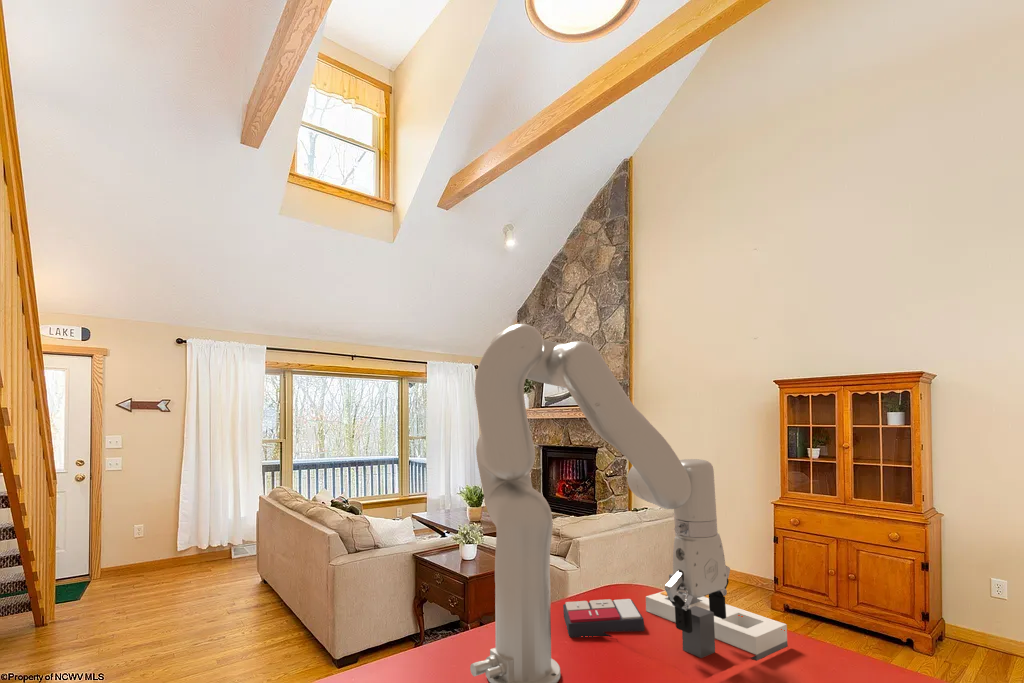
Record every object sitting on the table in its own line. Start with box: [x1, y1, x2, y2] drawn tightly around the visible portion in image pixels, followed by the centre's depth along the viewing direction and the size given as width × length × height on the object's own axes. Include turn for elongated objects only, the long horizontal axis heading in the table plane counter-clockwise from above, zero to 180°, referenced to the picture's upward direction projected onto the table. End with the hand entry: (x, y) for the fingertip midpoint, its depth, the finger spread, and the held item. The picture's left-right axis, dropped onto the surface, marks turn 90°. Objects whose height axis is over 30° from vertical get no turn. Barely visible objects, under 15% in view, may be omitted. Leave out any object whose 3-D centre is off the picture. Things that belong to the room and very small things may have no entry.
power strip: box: [645, 590, 788, 661], centre depth 118 cm, size 10×26×4 cm, turn 35°
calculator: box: [562, 598, 645, 638], centre depth 121 cm, size 11×4×15 cm
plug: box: [681, 606, 716, 659], centre depth 107 cm, size 4×4×8 cm
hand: (701, 623), depth 107 cm, fingers open, 9 cm apart
